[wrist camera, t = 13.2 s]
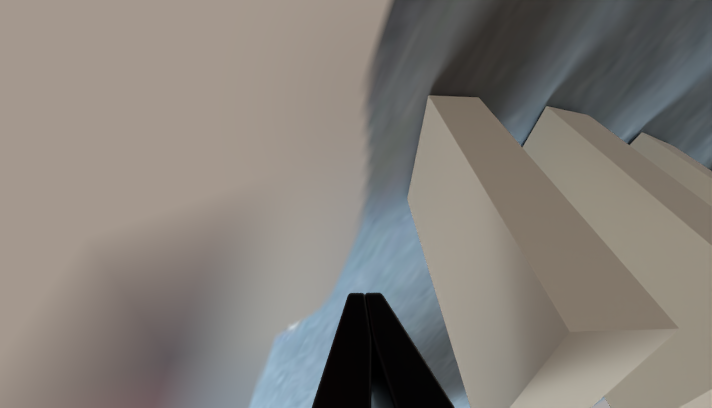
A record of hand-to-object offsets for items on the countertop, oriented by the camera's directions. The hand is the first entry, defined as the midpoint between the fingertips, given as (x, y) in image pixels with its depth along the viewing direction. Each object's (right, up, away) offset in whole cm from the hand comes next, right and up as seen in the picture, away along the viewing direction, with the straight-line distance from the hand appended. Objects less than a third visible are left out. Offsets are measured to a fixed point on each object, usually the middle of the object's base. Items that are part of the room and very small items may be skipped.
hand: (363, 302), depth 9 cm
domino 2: (+8, +4, +7) cm, 11 cm away
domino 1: (+3, +5, +6) cm, 9 cm away
